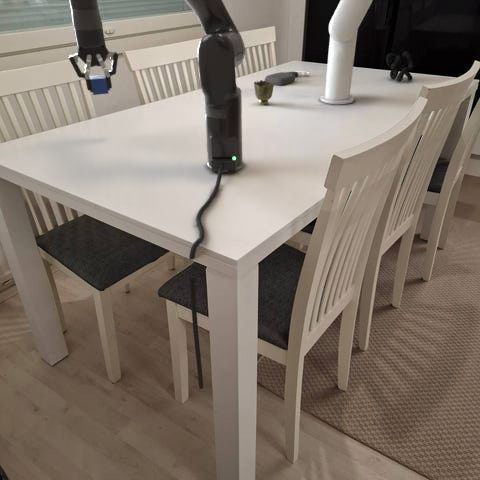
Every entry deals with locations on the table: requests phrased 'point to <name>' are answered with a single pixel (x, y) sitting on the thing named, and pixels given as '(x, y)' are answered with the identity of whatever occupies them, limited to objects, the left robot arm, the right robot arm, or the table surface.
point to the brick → (99, 84)
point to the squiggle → (399, 66)
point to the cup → (263, 91)
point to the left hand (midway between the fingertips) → (100, 90)
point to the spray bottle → (284, 77)
